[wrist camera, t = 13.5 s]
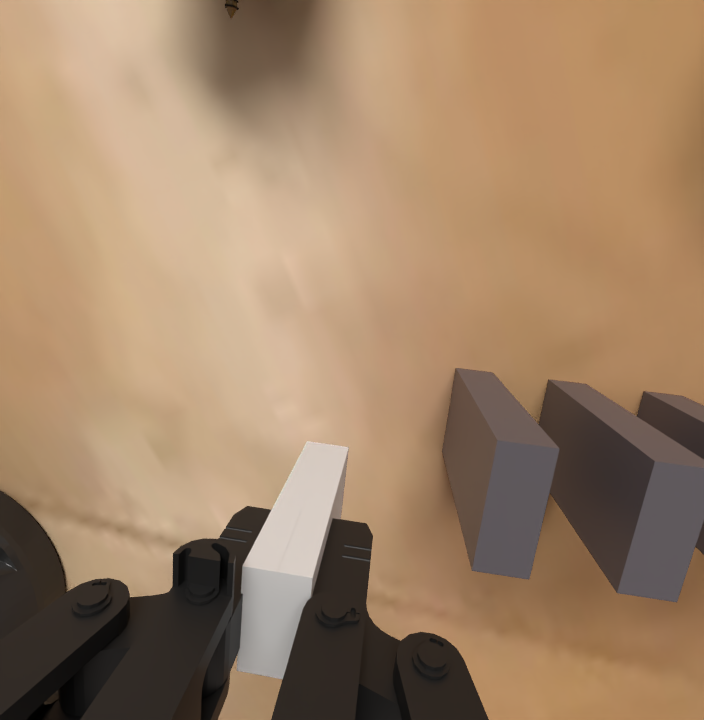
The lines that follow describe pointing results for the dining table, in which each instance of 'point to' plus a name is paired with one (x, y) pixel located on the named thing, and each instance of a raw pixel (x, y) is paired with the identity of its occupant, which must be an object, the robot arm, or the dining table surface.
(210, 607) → the robot arm
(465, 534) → the domino
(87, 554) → the dining table surface
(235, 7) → the game die
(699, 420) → the domino
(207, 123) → the dining table surface
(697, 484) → the domino
